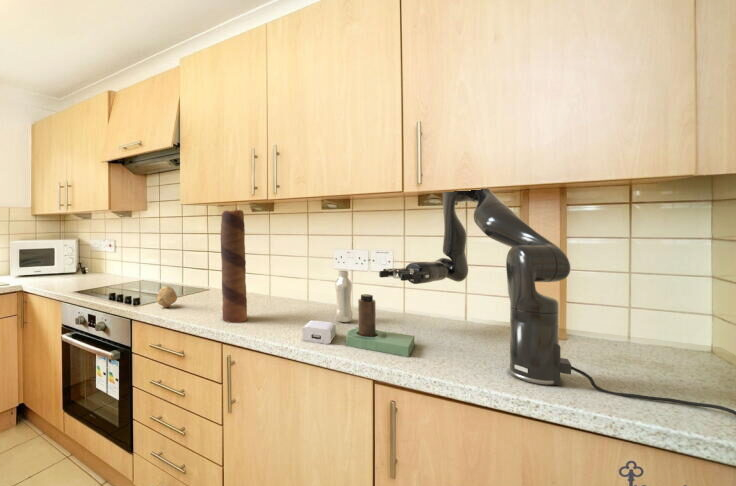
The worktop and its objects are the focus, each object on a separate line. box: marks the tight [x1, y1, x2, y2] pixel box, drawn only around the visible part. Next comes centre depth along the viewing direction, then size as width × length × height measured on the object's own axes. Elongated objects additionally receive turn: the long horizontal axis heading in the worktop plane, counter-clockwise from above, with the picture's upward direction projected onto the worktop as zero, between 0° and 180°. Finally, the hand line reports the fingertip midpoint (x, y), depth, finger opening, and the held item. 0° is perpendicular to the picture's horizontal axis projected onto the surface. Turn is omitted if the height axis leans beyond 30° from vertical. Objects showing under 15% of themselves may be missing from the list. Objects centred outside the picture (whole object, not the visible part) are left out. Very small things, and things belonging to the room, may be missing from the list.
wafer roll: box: [220, 209, 248, 323], centre depth 147 cm, size 10×11×45 cm
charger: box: [301, 320, 337, 345], centre depth 125 cm, size 5×9×15 cm
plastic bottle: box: [334, 270, 354, 323], centre depth 143 cm, size 6×7×20 cm
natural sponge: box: [156, 285, 178, 308], centre depth 171 cm, size 9×9×10 cm
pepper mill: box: [357, 293, 377, 337], centre depth 118 cm, size 5×5×16 cm
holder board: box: [345, 326, 416, 358], centre depth 116 cm, size 19×12×3 cm, turn 55°
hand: (390, 275), depth 122 cm, fingers open, 8 cm apart
